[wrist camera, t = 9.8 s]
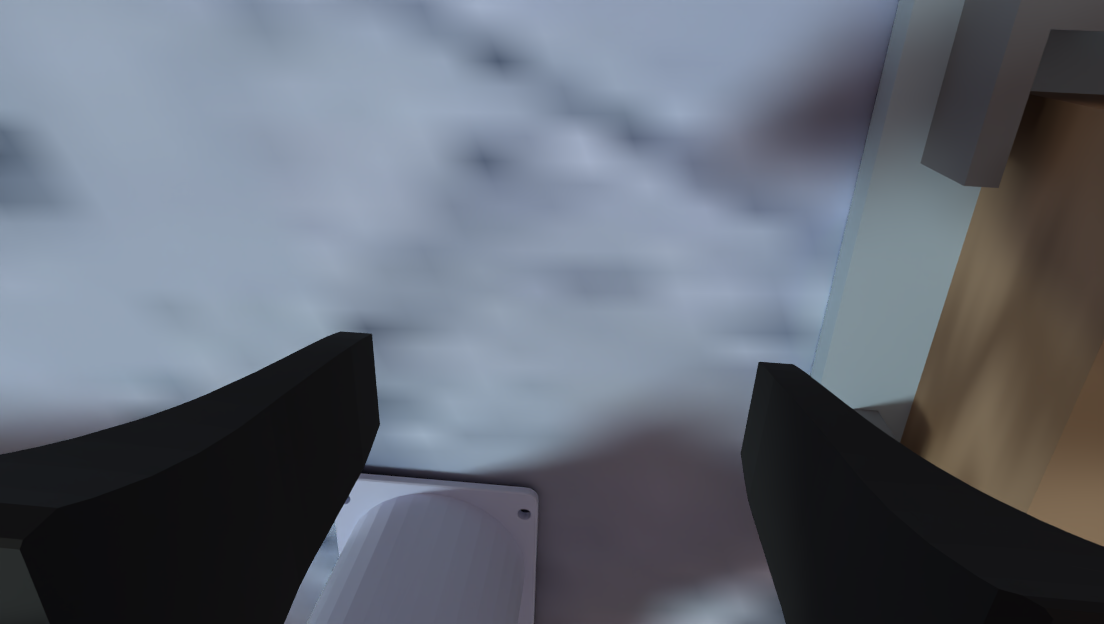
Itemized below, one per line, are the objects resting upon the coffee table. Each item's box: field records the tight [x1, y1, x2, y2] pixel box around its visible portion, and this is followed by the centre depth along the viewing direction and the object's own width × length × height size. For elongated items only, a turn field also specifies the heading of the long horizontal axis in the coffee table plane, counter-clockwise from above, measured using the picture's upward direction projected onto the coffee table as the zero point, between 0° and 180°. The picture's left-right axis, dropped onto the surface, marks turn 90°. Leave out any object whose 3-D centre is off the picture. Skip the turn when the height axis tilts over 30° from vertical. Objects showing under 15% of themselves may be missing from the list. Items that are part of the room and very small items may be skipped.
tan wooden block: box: [900, 91, 1104, 546], centre depth 17 cm, size 12×4×6 cm, turn 178°
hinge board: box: [811, 0, 1104, 442], centre depth 19 cm, size 18×10×4 cm, turn 178°
